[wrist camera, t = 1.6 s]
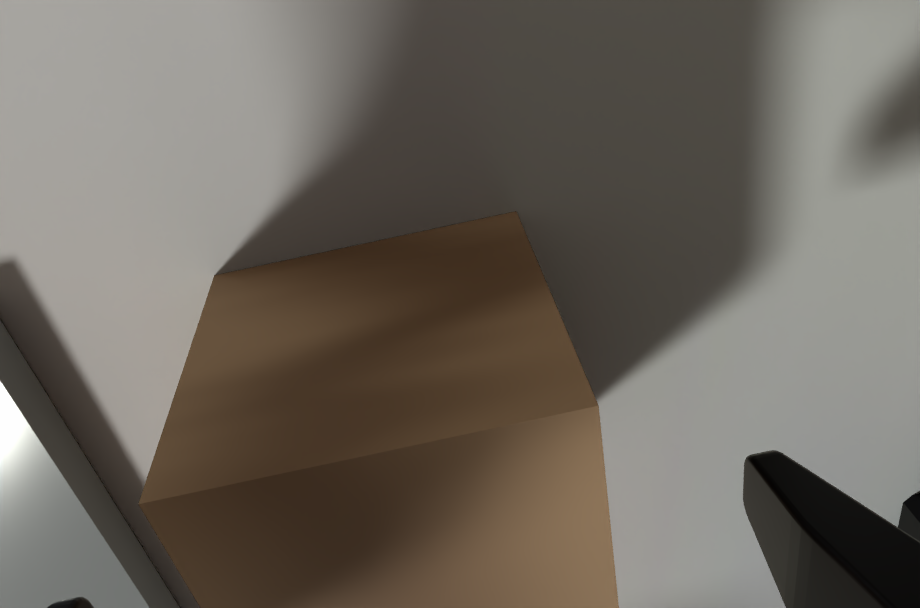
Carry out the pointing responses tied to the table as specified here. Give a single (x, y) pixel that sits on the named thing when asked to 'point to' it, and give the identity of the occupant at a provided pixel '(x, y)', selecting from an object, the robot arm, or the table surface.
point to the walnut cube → (386, 435)
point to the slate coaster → (59, 510)
